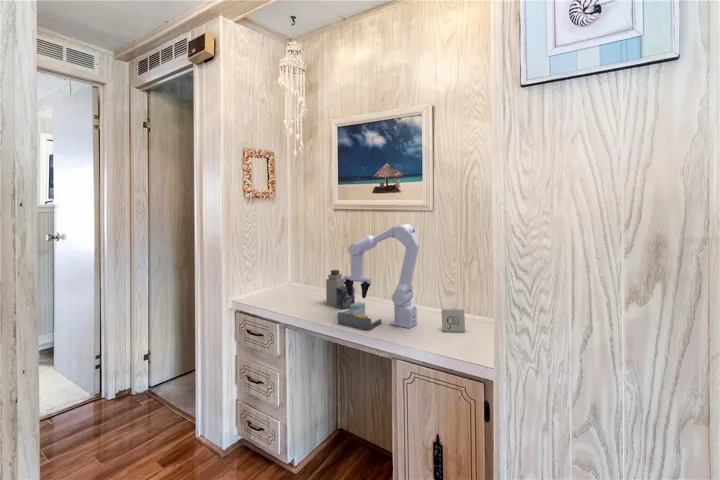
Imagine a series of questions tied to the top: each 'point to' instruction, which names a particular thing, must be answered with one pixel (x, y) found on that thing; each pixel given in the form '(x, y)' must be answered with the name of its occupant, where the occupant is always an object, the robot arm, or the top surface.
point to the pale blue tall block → (358, 306)
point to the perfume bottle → (333, 287)
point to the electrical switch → (453, 320)
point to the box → (344, 298)
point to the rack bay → (357, 319)
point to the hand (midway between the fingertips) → (357, 296)
